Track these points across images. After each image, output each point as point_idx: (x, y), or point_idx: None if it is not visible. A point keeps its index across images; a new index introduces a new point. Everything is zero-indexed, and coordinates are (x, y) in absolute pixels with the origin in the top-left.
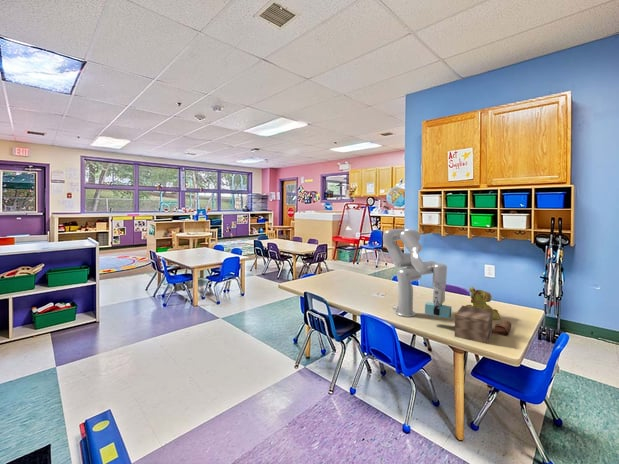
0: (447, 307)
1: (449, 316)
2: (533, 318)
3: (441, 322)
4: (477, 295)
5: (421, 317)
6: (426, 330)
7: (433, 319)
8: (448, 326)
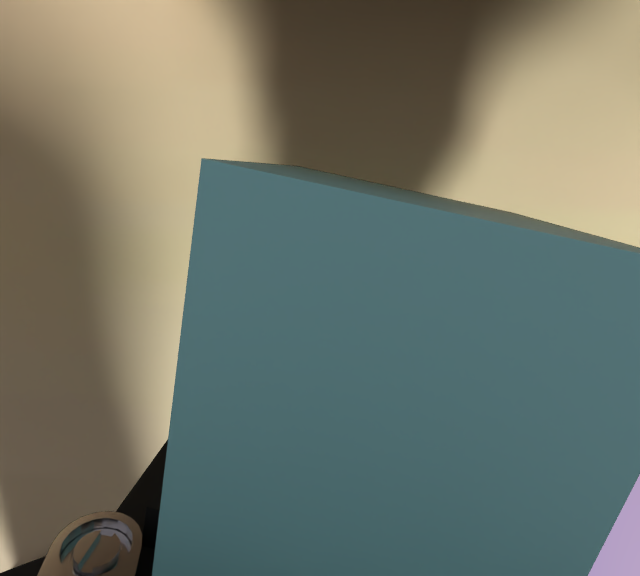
0: (478, 388)
1: (522, 216)
2: None
3: (182, 285)
4: None
5: (123, 499)
6: None
7: (119, 378)
8: None
